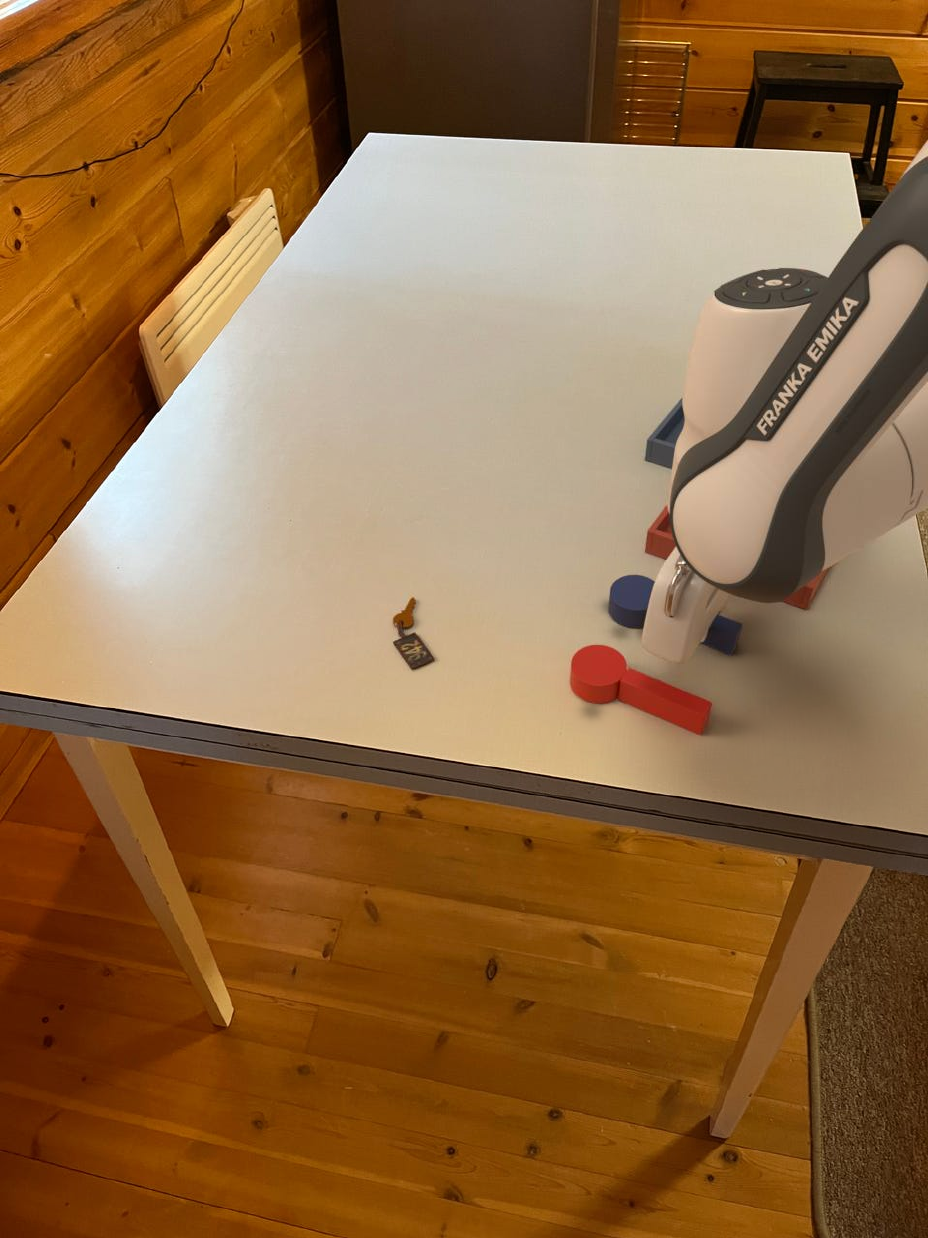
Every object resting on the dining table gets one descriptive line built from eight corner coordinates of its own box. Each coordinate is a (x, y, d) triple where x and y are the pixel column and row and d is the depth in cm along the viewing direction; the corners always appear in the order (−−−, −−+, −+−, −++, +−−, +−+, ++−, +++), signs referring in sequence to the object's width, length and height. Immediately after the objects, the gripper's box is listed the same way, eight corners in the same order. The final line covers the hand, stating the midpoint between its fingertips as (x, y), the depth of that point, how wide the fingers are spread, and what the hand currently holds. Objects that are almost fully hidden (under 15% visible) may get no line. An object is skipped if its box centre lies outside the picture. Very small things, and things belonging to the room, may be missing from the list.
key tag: (436, 664, 77) (435, 659, 77) (401, 672, 77) (400, 667, 76) (415, 598, 83) (414, 593, 82) (382, 605, 82) (381, 600, 82)
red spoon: (715, 709, 73) (720, 689, 71) (693, 748, 70) (697, 729, 69) (585, 655, 77) (587, 635, 76) (560, 690, 75) (561, 670, 73)
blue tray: (825, 446, 96) (831, 425, 94) (788, 505, 90) (794, 484, 88) (687, 407, 102) (690, 386, 100) (644, 460, 96) (646, 439, 94)
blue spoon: (744, 633, 78) (749, 613, 77) (724, 666, 76) (729, 647, 74) (621, 586, 83) (624, 566, 81) (599, 616, 80) (601, 596, 79)
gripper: (718, 592, 60) (689, 724, 70) (818, 433, 72) (782, 565, 82) (629, 559, 63) (614, 691, 72) (740, 411, 74) (714, 541, 84)
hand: (703, 623), depth 77 cm, fingers closed on blue spoon, 1 cm apart
